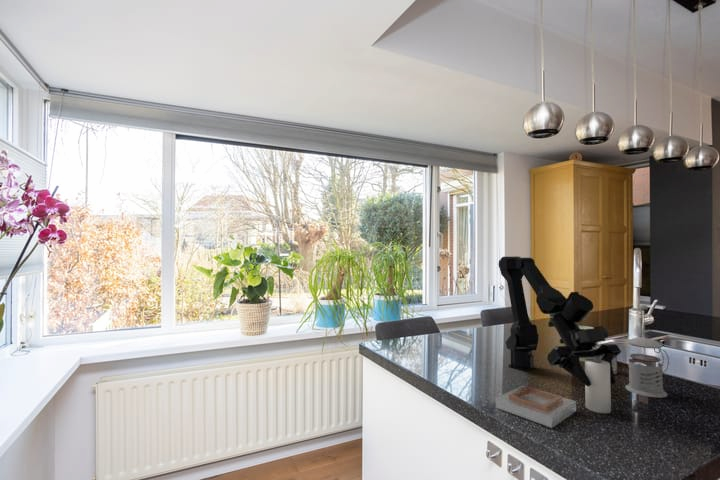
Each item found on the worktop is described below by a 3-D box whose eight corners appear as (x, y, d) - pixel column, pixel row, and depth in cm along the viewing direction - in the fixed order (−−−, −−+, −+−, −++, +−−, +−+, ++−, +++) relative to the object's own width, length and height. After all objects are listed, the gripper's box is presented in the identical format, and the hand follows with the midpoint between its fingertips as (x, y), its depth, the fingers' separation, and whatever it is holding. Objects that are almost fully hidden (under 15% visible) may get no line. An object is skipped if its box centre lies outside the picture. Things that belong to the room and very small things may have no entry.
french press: (616, 385, 110) (614, 302, 111) (652, 383, 111) (649, 302, 112) (644, 398, 100) (642, 307, 101) (683, 396, 101) (680, 306, 102)
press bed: (496, 407, 94) (495, 394, 95) (522, 394, 103) (522, 381, 103) (551, 428, 84) (551, 412, 84) (576, 411, 92) (575, 397, 93)
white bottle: (582, 407, 94) (581, 356, 95) (590, 402, 98) (589, 353, 98) (606, 415, 90) (605, 361, 90) (614, 409, 93) (612, 357, 94)
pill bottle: (620, 374, 119) (619, 348, 120) (604, 373, 120) (603, 348, 120) (613, 369, 124) (612, 345, 124) (597, 369, 125) (597, 344, 125)
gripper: (553, 316, 97) (586, 371, 86) (614, 314, 100) (654, 367, 89) (535, 339, 104) (563, 392, 93) (592, 336, 107) (626, 387, 96)
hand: (601, 384), depth 93 cm, fingers open, 7 cm apart
